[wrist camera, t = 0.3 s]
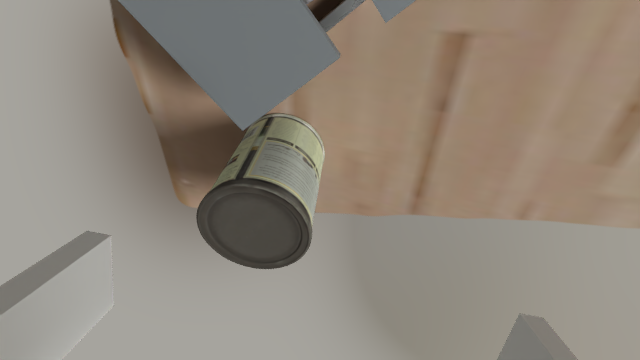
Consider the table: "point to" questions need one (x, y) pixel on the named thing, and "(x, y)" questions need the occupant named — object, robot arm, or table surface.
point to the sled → (339, 13)
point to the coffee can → (266, 195)
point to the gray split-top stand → (244, 47)
